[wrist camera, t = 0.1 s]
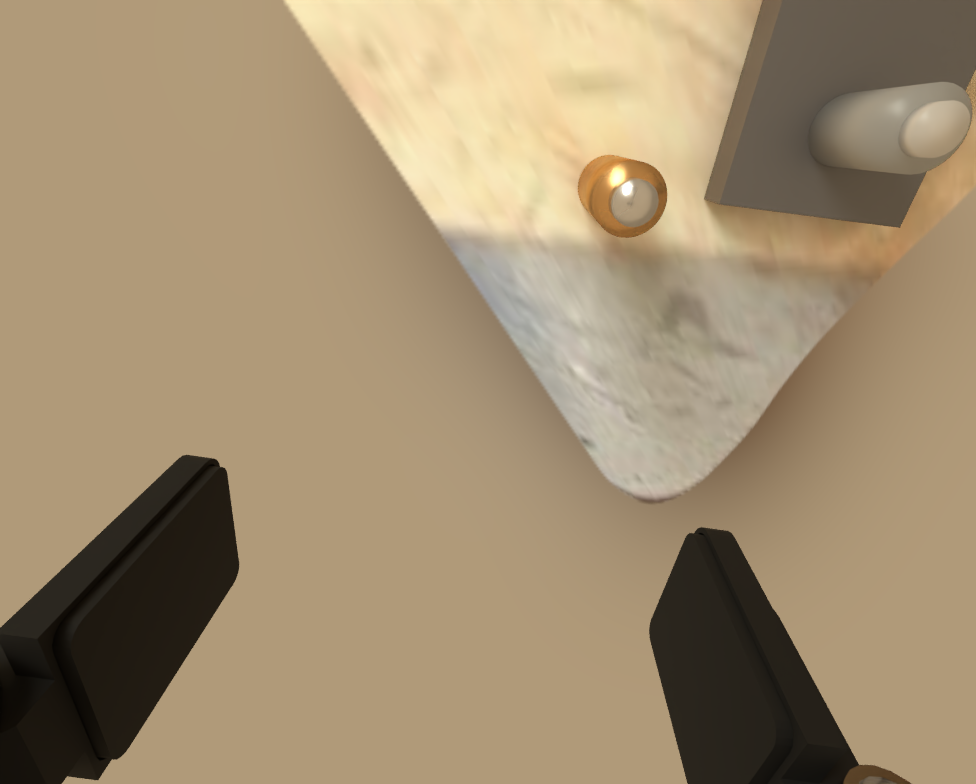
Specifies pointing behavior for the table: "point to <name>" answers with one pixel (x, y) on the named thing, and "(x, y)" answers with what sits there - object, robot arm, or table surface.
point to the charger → (846, 107)
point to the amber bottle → (623, 194)
